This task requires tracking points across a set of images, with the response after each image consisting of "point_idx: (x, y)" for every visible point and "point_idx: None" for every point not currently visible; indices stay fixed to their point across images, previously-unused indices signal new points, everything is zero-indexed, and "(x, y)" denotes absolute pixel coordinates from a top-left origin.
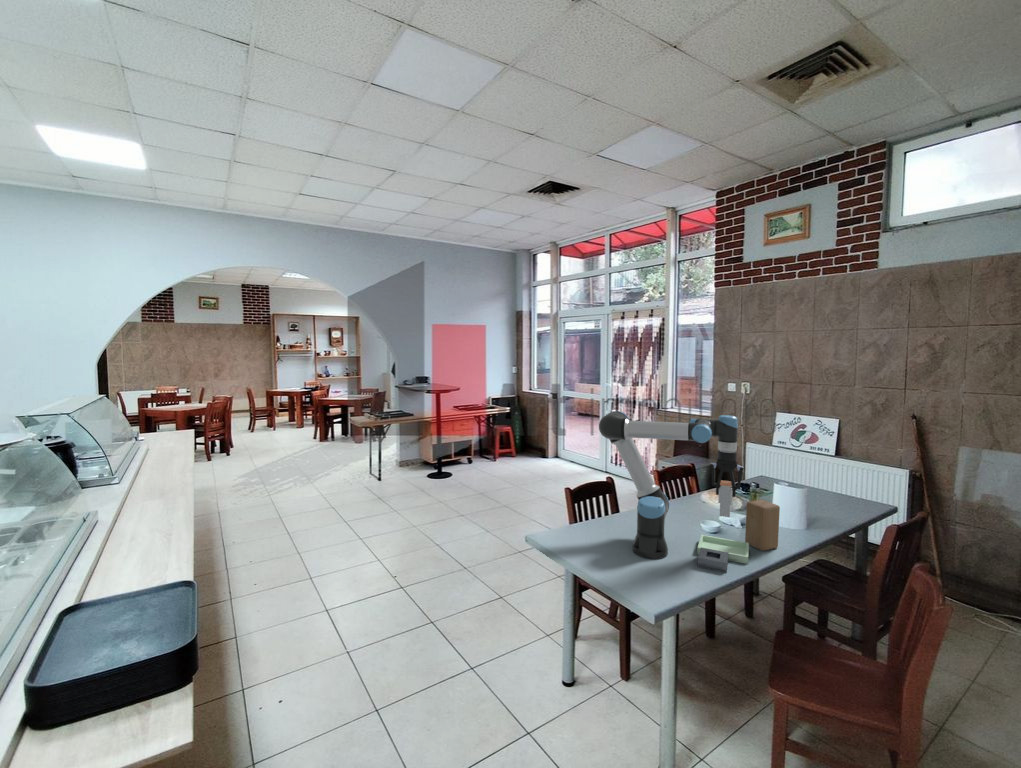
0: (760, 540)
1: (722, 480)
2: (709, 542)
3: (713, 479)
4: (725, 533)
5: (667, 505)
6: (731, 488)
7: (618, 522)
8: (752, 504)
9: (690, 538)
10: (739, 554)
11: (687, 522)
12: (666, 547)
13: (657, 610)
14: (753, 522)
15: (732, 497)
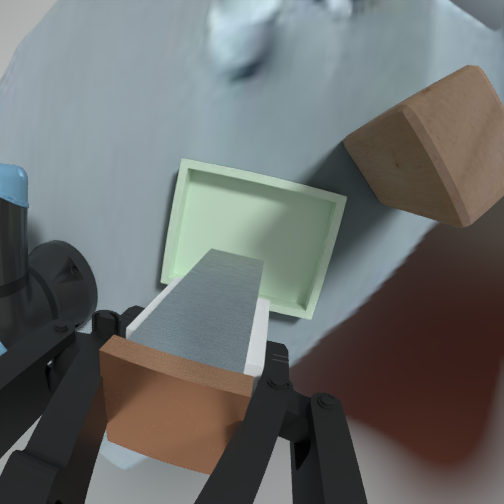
0: (388, 202)
1: (120, 365)
2: (211, 182)
3: (36, 406)
4: (287, 67)
5: (2, 238)
6: (249, 366)
7: (4, 115)
8: (425, 152)
9: (156, 150)
10: (297, 262)
11: (169, 16)
12: (84, 308)
13: (126, 466)
14: (391, 170)
15: (267, 324)
